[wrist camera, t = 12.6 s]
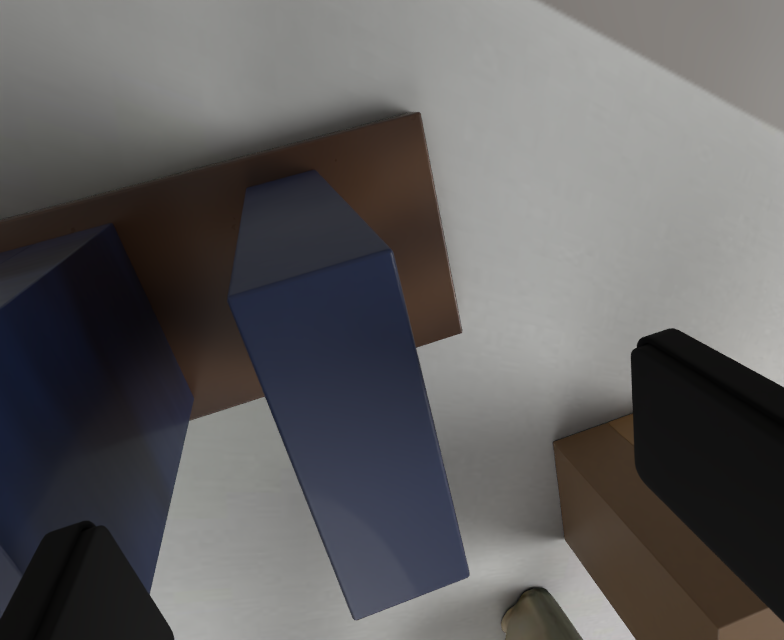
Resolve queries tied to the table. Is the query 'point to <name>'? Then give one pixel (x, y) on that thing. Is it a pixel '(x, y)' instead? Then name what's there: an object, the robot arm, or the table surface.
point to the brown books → (648, 548)
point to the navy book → (345, 390)
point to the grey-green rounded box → (538, 619)
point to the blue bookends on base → (166, 327)
